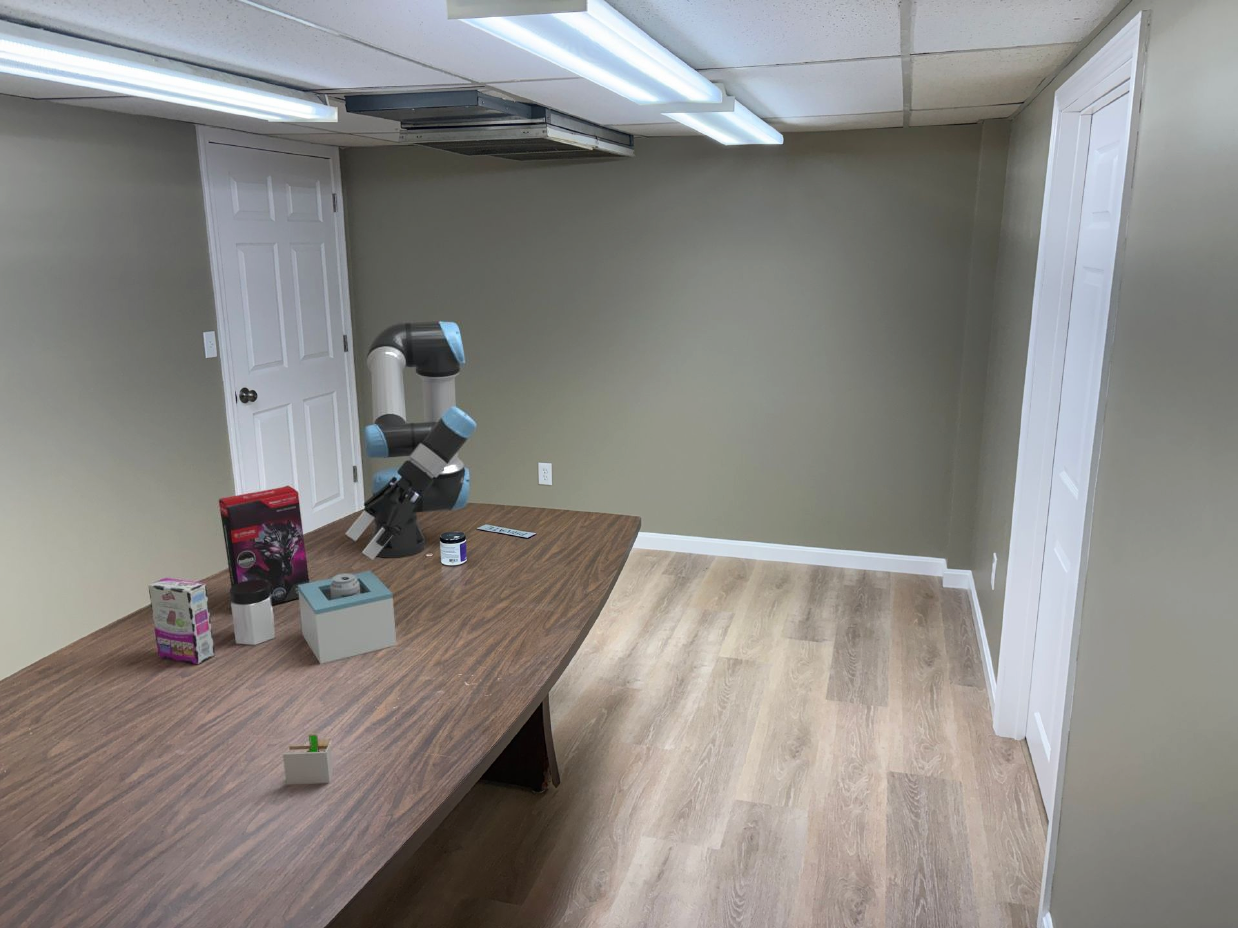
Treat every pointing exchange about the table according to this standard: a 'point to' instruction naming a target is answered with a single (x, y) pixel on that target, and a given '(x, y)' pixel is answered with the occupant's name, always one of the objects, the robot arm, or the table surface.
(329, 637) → the recycling box
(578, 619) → the table surface
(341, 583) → the energy drink can
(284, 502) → the graphics card box
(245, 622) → the jar
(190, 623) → the candy bar box
